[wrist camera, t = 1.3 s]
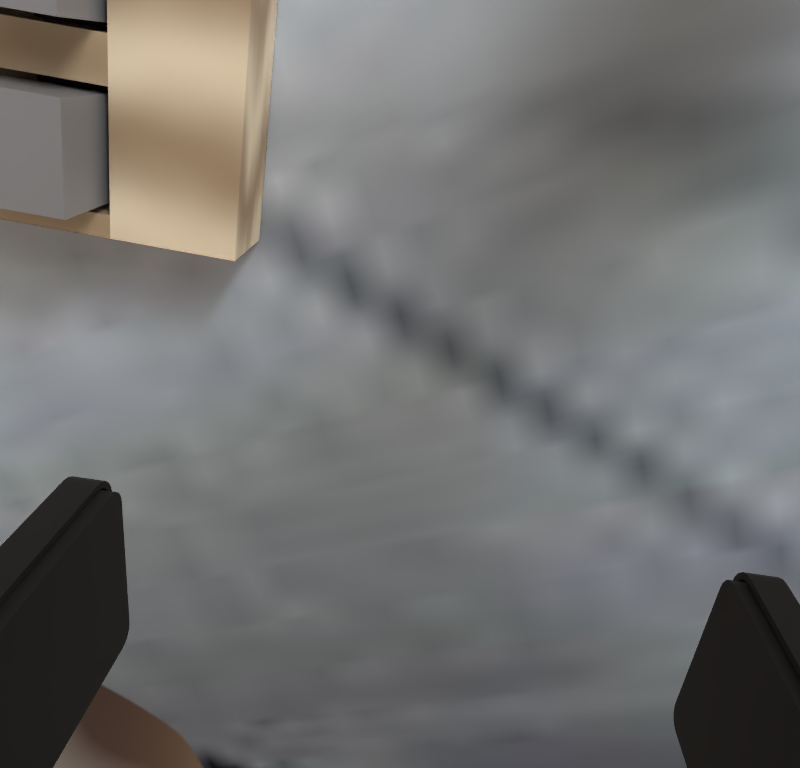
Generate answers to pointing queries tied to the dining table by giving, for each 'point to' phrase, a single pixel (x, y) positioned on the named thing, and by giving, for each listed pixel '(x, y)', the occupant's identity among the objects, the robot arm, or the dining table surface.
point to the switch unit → (166, 115)
